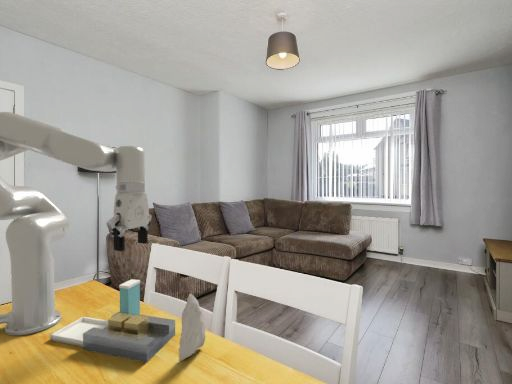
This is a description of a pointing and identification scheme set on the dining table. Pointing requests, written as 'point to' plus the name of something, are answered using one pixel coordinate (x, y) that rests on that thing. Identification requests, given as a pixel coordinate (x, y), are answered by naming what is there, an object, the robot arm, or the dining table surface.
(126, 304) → the teal rectangular block
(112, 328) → the chip
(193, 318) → the stone tool
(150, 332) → the slot board
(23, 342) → the dining table surface
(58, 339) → the tray
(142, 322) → the gold cube
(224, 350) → the dining table surface
